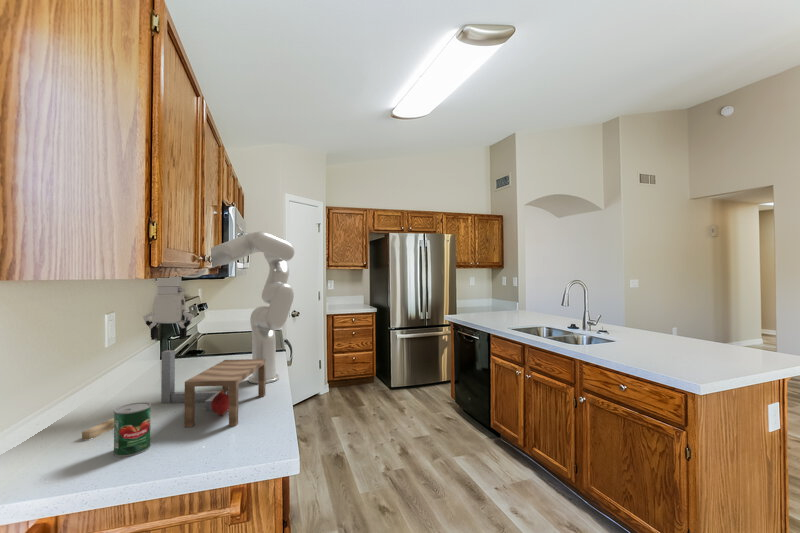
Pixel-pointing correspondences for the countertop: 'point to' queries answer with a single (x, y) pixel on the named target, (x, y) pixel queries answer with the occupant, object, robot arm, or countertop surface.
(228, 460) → the countertop surface
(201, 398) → the grey angled piece
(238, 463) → the countertop surface
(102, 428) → the wooden bar
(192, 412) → the shelf
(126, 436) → the canned tomato
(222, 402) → the onion
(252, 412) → the countertop surface
